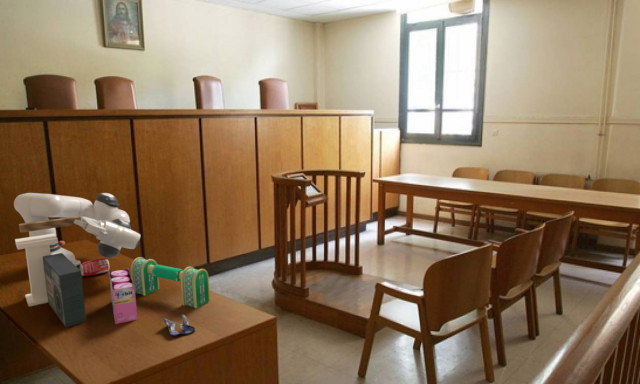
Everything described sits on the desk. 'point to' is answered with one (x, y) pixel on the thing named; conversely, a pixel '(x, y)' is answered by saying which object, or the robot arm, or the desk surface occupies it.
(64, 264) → the cassette player
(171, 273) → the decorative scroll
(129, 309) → the gum box
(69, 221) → the brown block
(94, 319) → the desk surface
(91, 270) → the soda can
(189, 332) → the snack package
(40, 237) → the stand
